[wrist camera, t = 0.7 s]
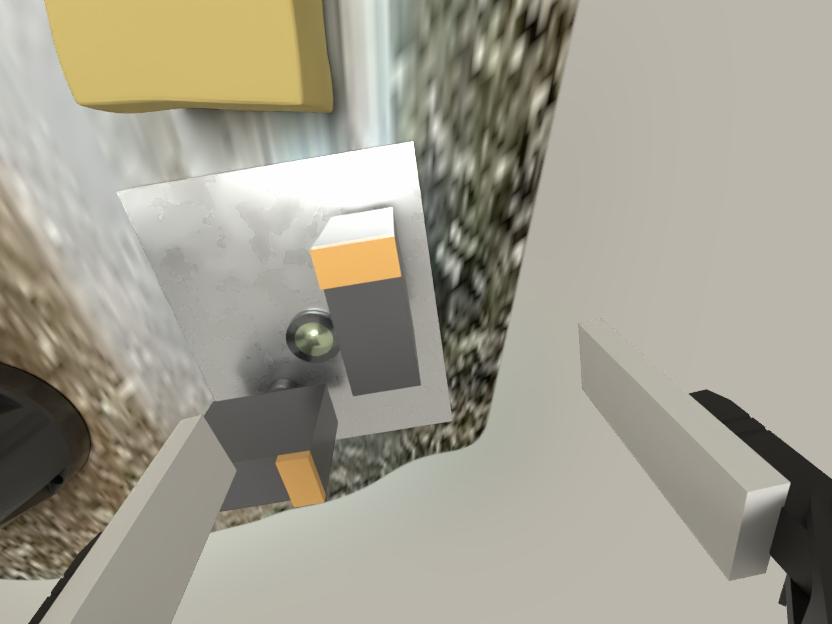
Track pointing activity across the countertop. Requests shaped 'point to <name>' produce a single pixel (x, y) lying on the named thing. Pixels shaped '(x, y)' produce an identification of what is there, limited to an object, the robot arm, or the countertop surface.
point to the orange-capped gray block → (368, 300)
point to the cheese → (193, 54)
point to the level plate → (288, 277)
